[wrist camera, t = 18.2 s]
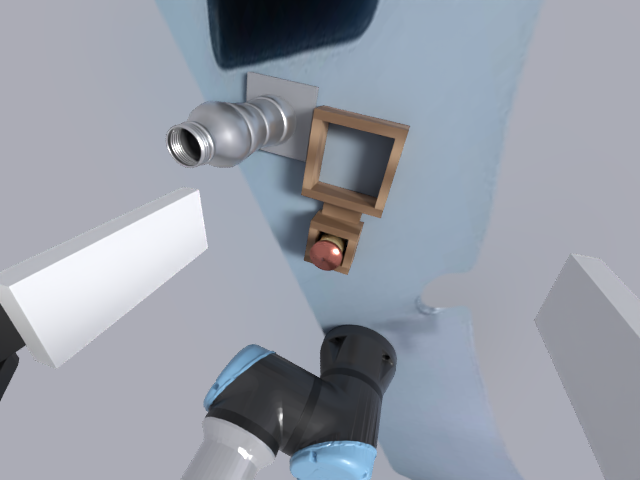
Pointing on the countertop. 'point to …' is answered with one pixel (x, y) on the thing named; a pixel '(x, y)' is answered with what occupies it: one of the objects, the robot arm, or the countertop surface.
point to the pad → (300, 101)
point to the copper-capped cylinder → (328, 252)
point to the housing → (339, 202)
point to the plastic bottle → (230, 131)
